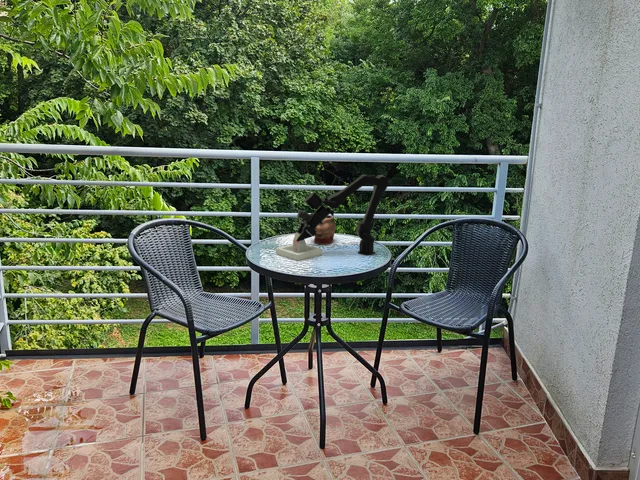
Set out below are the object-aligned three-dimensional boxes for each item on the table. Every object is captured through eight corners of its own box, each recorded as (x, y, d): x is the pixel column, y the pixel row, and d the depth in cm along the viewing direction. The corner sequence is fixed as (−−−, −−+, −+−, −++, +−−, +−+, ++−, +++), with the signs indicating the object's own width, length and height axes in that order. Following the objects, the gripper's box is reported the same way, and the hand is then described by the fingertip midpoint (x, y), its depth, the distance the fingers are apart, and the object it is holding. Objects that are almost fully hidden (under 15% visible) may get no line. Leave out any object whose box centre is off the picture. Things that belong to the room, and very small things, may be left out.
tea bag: (299, 251, 276) (299, 231, 274) (305, 254, 270) (306, 234, 268) (292, 252, 274) (292, 232, 272) (299, 255, 269) (299, 235, 266)
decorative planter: (318, 236, 308) (318, 211, 305) (339, 238, 305) (340, 213, 302) (307, 245, 290) (307, 218, 286) (330, 247, 287) (330, 220, 283)
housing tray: (322, 255, 272) (322, 249, 272) (297, 261, 261) (297, 255, 261) (300, 248, 283) (300, 242, 283) (275, 254, 273) (275, 248, 272)
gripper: (305, 200, 276) (283, 223, 277) (309, 208, 258) (285, 232, 259) (320, 216, 279) (298, 238, 280) (326, 224, 261) (302, 248, 262)
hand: (296, 238), depth 270 cm, fingers open, 9 cm apart
